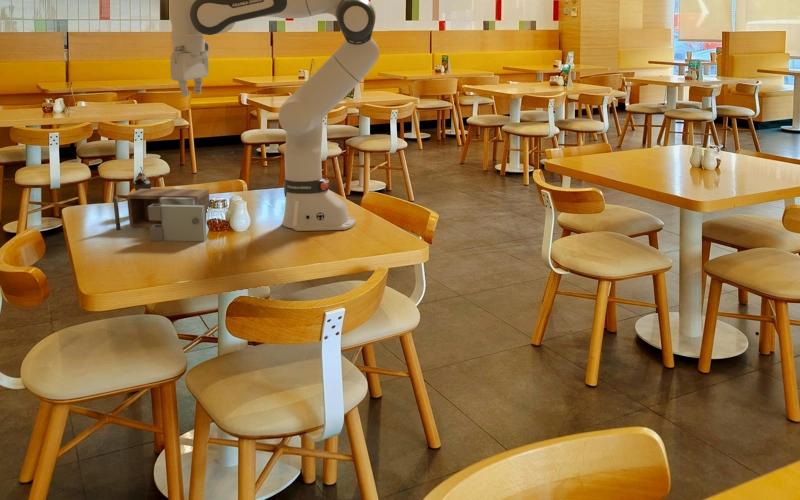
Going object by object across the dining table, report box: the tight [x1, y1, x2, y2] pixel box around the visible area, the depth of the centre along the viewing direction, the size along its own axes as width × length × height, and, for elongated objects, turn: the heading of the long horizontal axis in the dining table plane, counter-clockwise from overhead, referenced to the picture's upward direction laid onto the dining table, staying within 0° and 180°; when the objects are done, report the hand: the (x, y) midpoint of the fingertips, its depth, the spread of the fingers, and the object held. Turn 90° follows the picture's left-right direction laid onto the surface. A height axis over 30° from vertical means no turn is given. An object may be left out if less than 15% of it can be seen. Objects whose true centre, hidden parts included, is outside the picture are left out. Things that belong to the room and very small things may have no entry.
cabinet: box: [112, 188, 211, 231], centre depth 238 cm, size 25×15×10 cm, turn 84°
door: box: [148, 204, 208, 242], centre depth 222 cm, size 16×4×10 cm, turn 84°
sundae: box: [131, 166, 154, 192], centre depth 255 cm, size 7×7×15 cm
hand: (191, 95), depth 227 cm, fingers open, 8 cm apart
